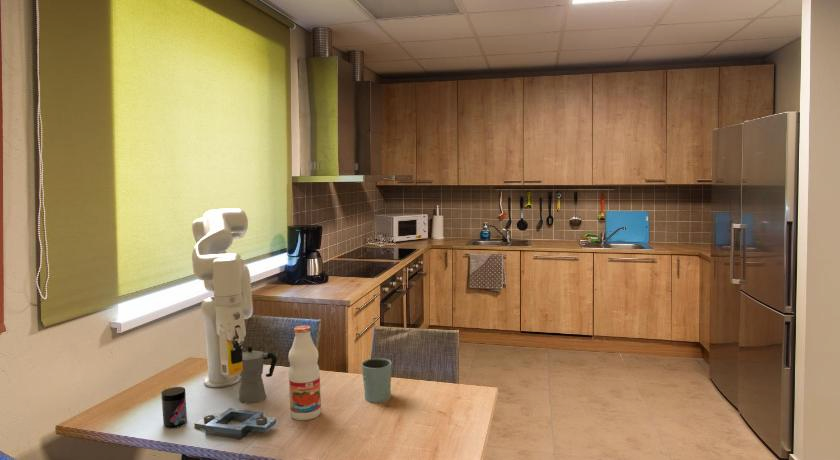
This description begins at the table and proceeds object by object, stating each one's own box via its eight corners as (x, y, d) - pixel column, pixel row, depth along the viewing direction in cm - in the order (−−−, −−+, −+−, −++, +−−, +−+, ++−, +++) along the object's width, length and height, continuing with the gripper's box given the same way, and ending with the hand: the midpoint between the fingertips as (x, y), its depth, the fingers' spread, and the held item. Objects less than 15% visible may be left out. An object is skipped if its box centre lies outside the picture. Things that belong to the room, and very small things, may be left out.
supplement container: (165, 431, 168) (163, 397, 167) (161, 422, 174) (159, 390, 173) (189, 425, 172) (187, 392, 171) (184, 417, 178) (182, 385, 177)
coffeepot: (228, 404, 186) (225, 351, 184) (236, 393, 196) (233, 342, 194) (275, 403, 187) (273, 350, 185) (281, 392, 196) (279, 341, 194)
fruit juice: (317, 405, 184) (314, 321, 181) (324, 417, 176) (321, 329, 173) (288, 411, 181) (284, 325, 178) (293, 423, 172) (289, 333, 169)
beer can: (247, 371, 170) (244, 322, 168) (234, 378, 164) (231, 327, 162) (230, 369, 172) (227, 320, 170) (216, 376, 166) (213, 326, 164)
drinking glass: (374, 406, 183) (373, 370, 182) (356, 397, 191) (355, 362, 190) (398, 397, 190) (397, 362, 189) (380, 389, 198) (379, 355, 196)
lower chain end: (187, 432, 167) (187, 424, 167) (213, 415, 179) (212, 408, 178) (241, 439, 162) (240, 431, 162) (264, 421, 174) (263, 414, 173)
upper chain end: (205, 430, 165) (204, 422, 165) (229, 412, 177) (229, 405, 177) (259, 437, 160) (259, 429, 160) (281, 419, 172) (281, 411, 172)
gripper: (254, 302, 162) (257, 363, 164) (227, 293, 174) (230, 350, 176) (229, 307, 156) (232, 370, 159) (203, 297, 169) (206, 356, 171)
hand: (231, 359), depth 167 cm, fingers closed on beer can, 6 cm apart
